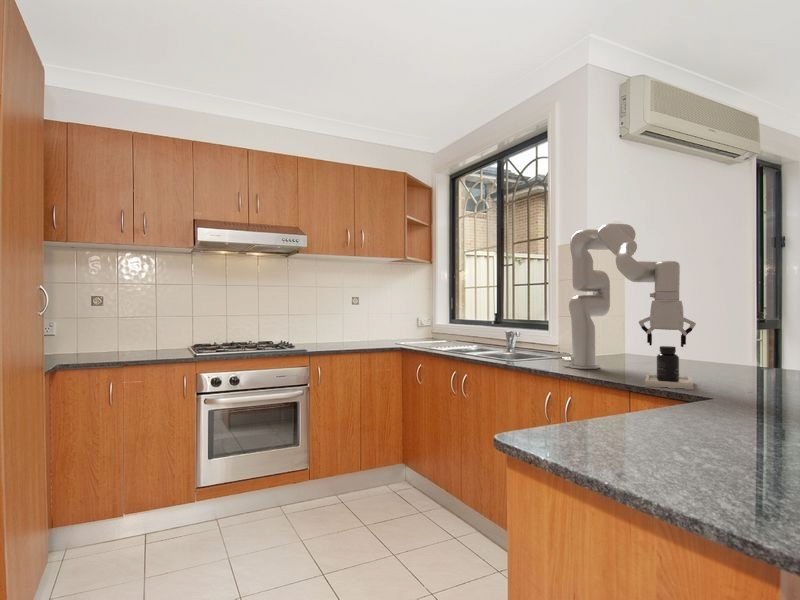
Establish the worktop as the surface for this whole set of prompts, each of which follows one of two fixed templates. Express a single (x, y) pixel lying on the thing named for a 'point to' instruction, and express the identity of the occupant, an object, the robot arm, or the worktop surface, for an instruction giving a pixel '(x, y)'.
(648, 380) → the dish
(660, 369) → the supplement bottle
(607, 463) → the worktop surface
